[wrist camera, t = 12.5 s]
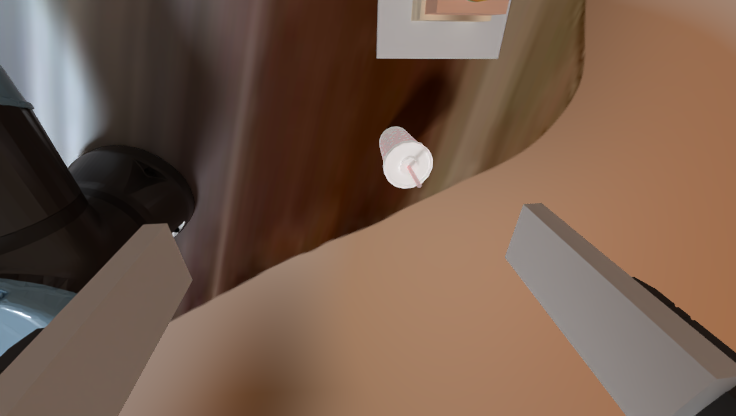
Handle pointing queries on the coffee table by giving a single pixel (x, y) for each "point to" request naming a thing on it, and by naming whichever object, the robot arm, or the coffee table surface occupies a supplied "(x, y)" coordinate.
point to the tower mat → (435, 35)
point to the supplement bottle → (476, 0)
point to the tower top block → (466, 7)
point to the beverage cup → (404, 158)
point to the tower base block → (420, 15)
